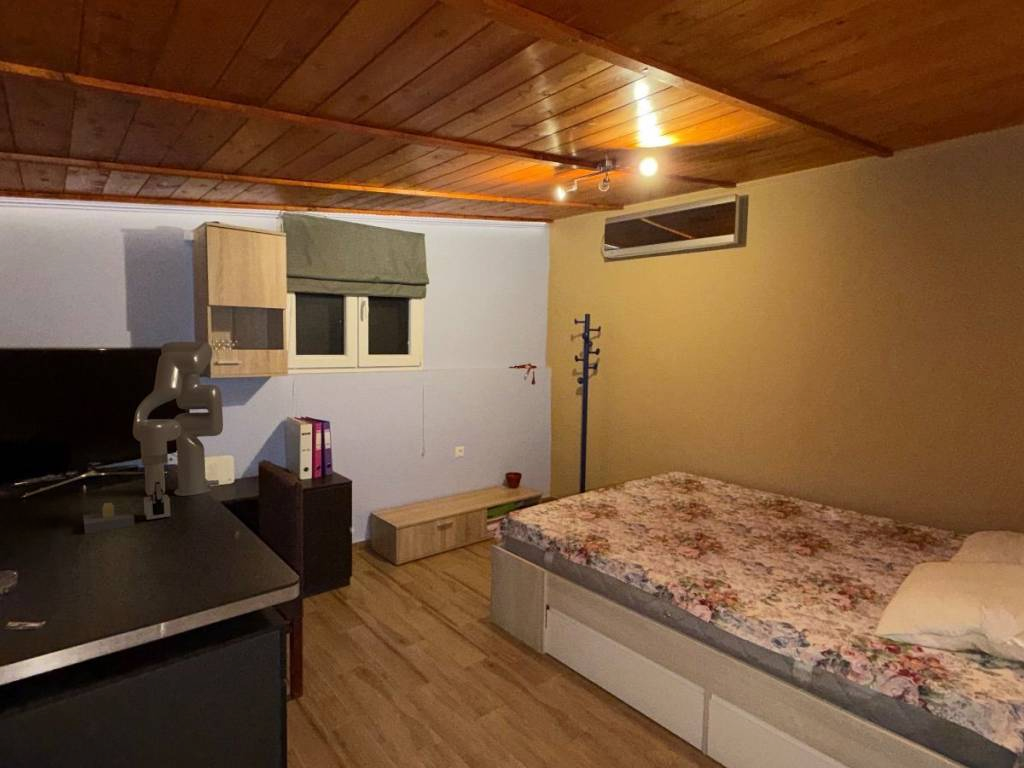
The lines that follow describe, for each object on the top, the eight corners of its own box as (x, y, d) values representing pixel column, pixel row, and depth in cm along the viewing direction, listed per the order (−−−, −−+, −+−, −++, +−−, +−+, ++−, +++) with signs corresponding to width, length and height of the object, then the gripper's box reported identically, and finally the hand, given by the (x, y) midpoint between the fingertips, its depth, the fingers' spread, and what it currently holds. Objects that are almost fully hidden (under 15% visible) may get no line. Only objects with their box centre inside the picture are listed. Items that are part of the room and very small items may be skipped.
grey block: (130, 517, 205) (129, 496, 205) (134, 526, 195) (133, 504, 194) (83, 524, 197) (82, 502, 197) (85, 533, 187) (83, 511, 186)
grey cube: (167, 511, 209) (166, 494, 209) (170, 516, 204) (169, 498, 203) (144, 514, 205) (143, 497, 205) (146, 519, 200) (146, 501, 199)
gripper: (138, 456, 208) (141, 508, 209) (144, 465, 194) (147, 520, 195) (163, 454, 212) (166, 504, 214) (171, 462, 198) (173, 516, 200)
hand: (157, 511), depth 204 cm, fingers closed on grey cube, 6 cm apart
